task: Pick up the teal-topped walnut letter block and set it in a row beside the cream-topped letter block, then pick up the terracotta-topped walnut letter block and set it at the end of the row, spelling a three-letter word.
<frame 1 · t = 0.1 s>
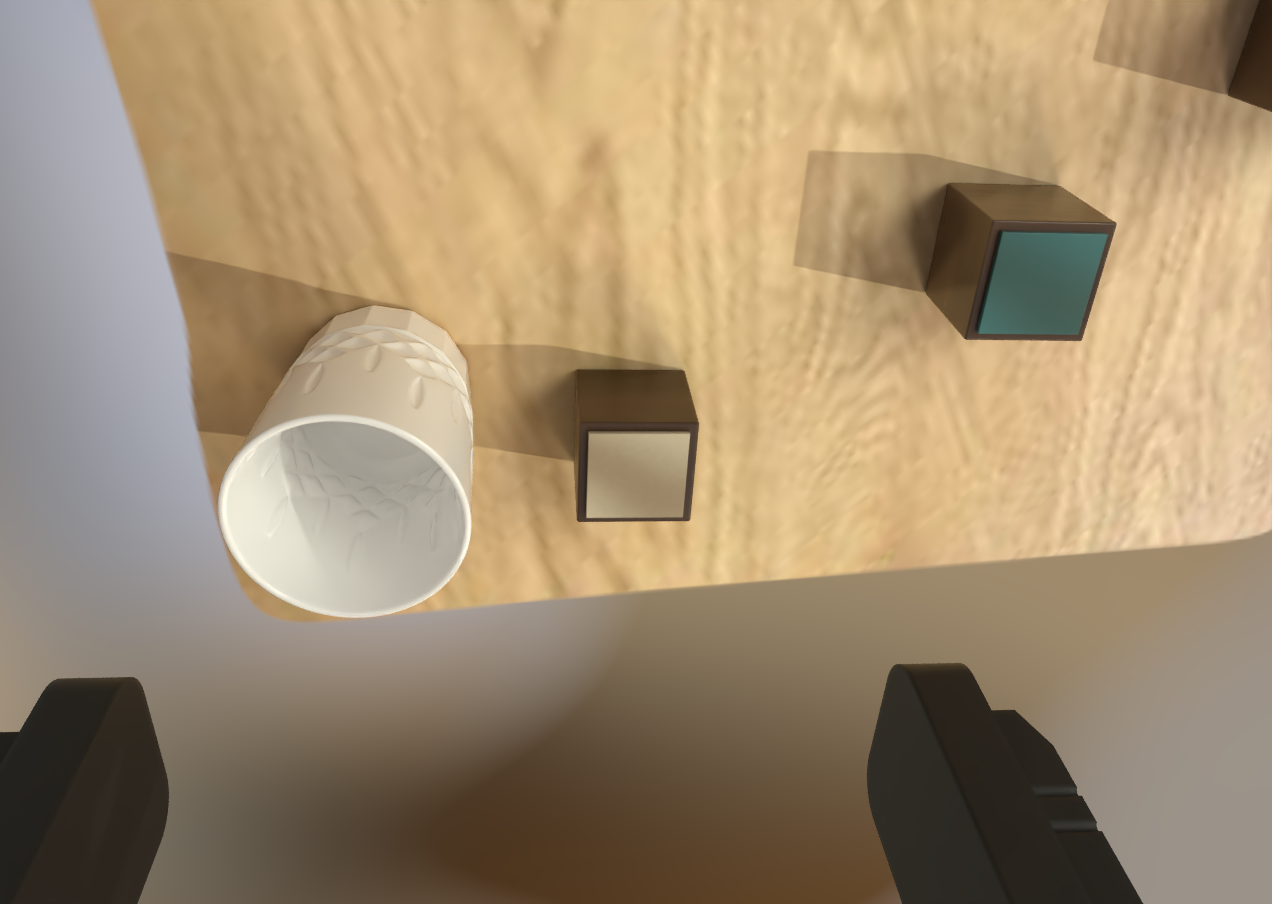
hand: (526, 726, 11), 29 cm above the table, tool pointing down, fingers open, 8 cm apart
letter middle: (991, 240, 40), on the table
white cup: (387, 379, 41), on the table
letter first: (628, 417, 43), on the table
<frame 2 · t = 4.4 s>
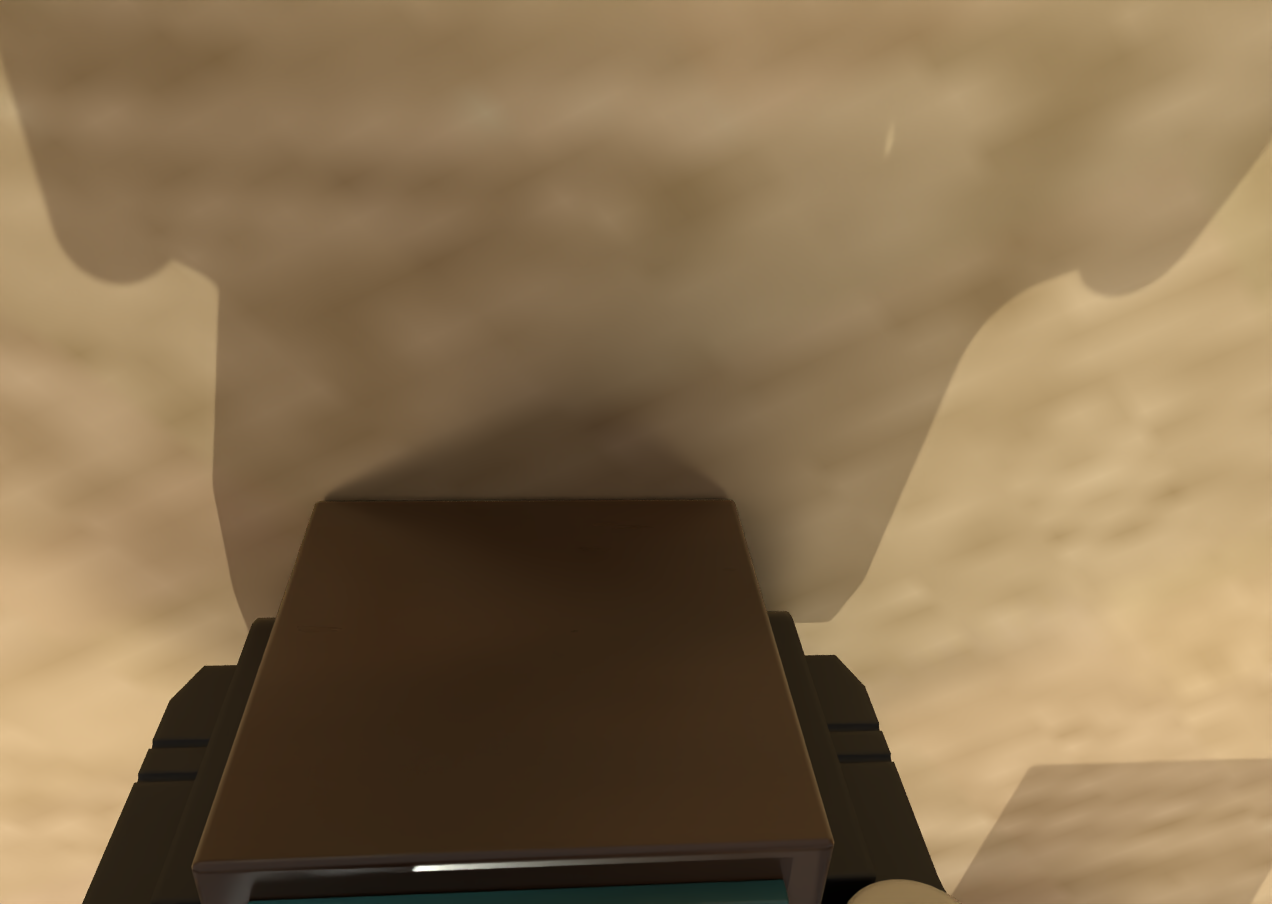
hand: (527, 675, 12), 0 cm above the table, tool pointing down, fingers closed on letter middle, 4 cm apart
letter middle: (529, 655, 12), on the table, touching gripper
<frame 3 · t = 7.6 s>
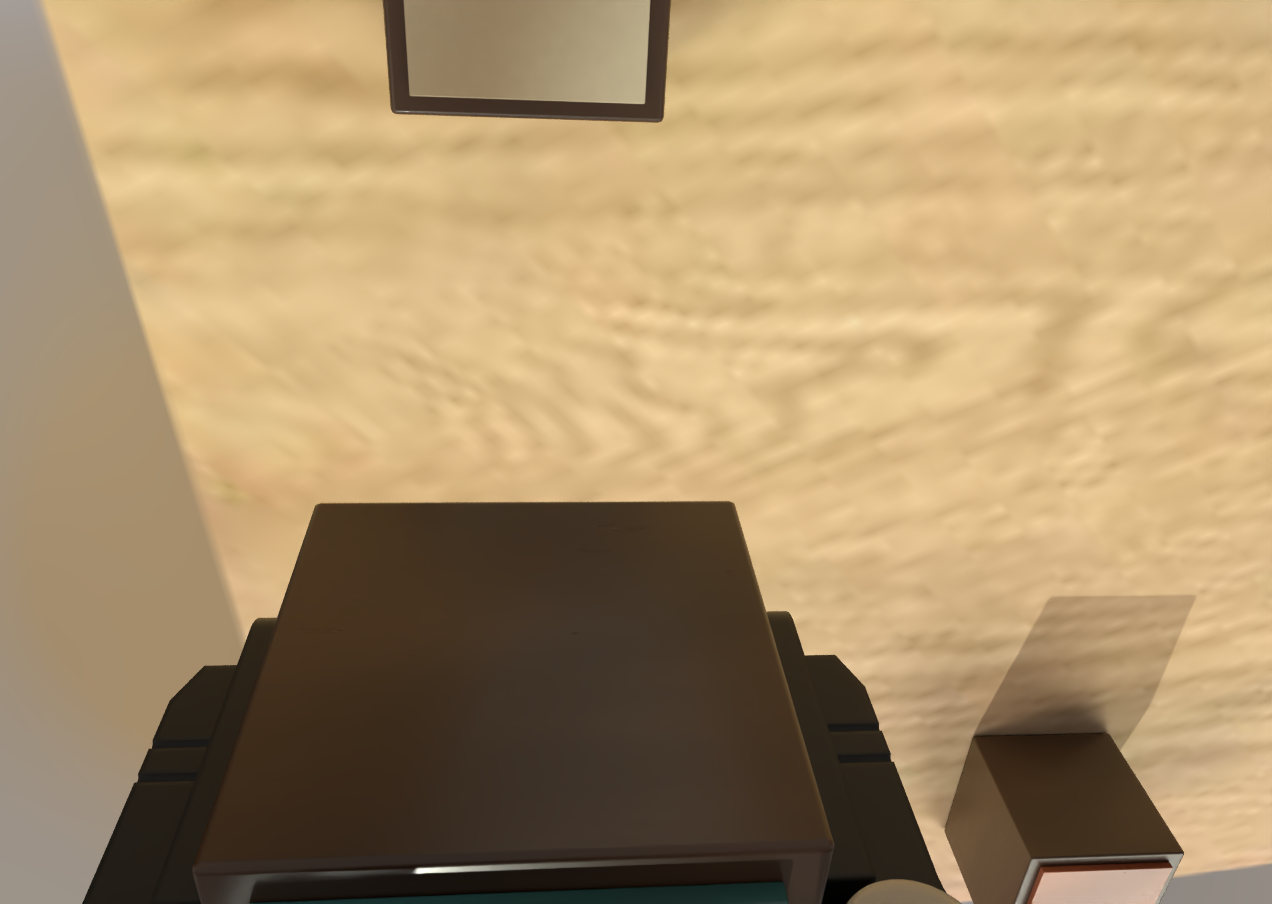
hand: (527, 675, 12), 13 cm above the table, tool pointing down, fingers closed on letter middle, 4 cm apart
letter middle: (529, 656, 12), point 13 cm above the table, touching gripper
letter end: (1024, 783, 33), on the table
when the fingers open (0 cm above the table, at t = 10.7 s): letter middle stays where it is, on the table.
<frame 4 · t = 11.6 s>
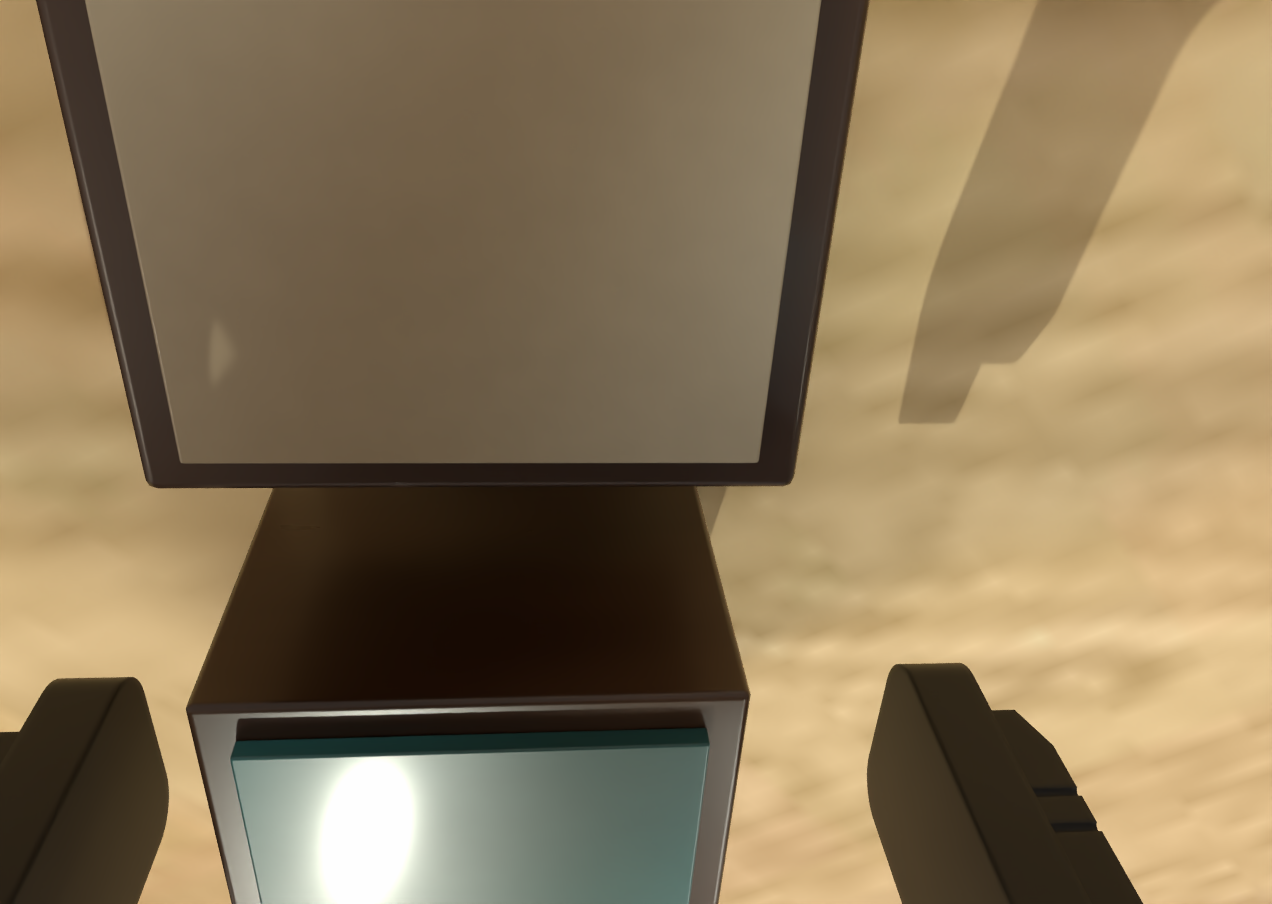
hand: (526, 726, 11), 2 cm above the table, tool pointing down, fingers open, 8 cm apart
letter middle: (495, 576, 13), on the table
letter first: (493, 41, 10), on the table
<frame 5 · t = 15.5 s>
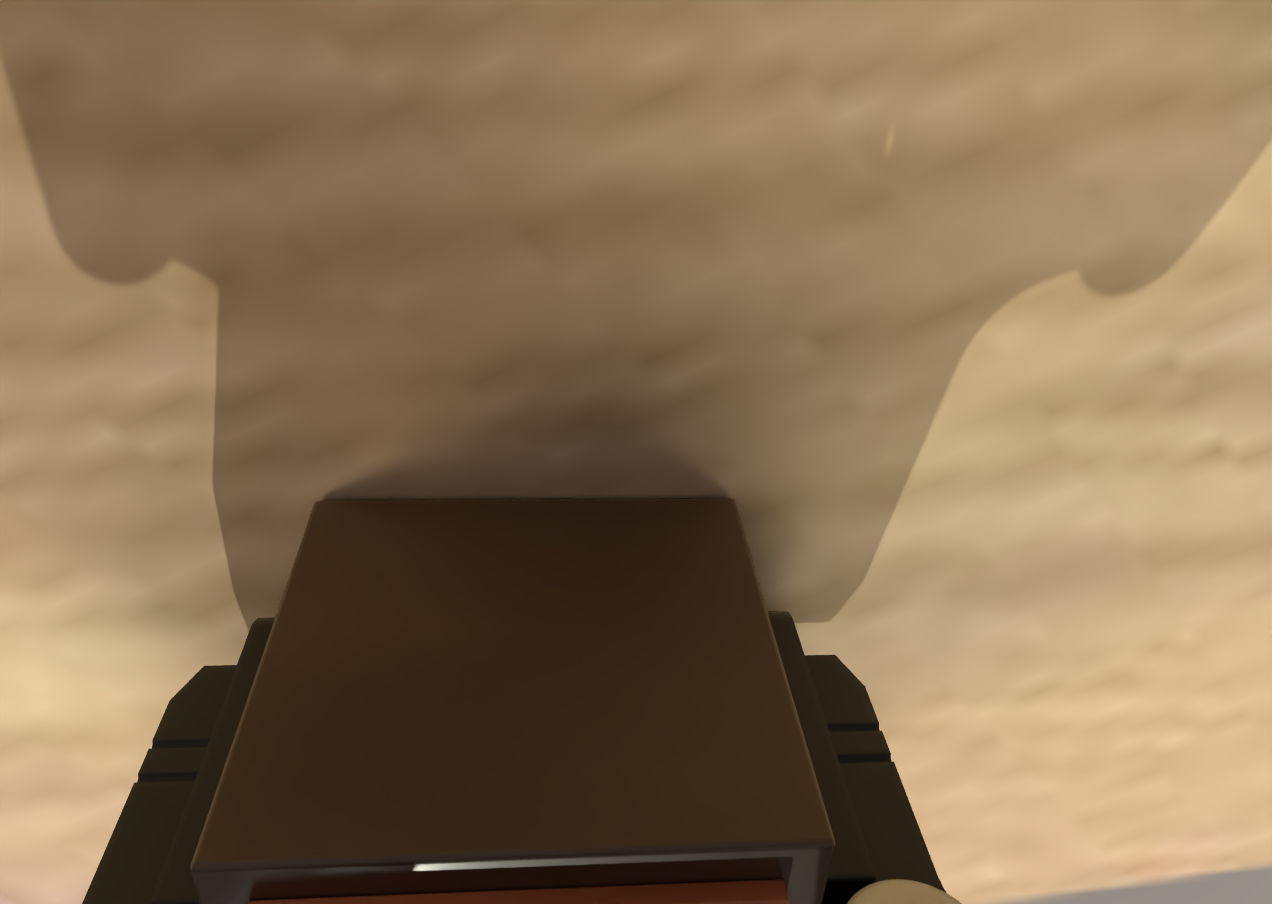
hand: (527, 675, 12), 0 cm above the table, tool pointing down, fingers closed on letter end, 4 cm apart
letter end: (529, 655, 12), on the table, touching gripper
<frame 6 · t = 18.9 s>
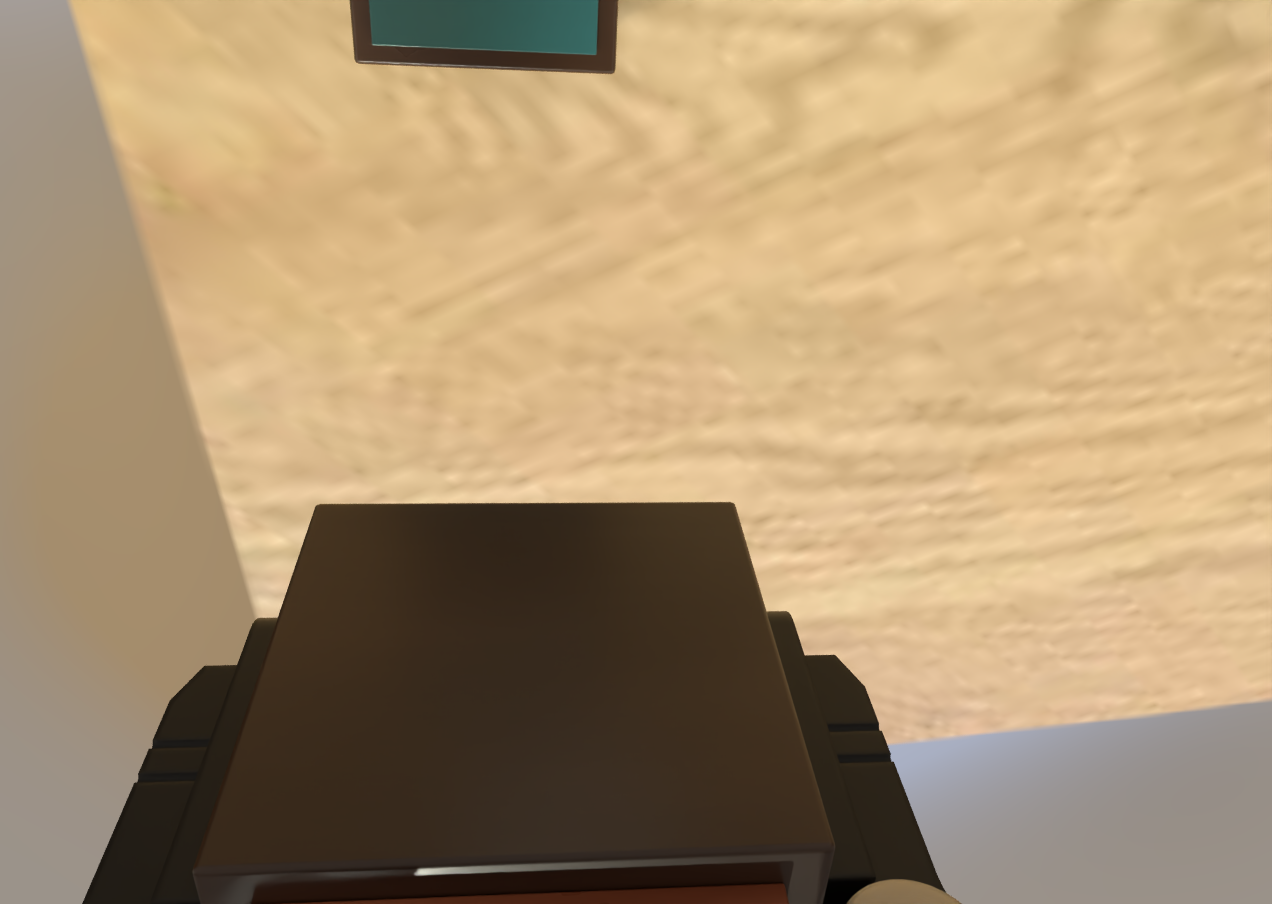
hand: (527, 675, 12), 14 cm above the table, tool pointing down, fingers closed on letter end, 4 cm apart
letter end: (530, 658, 12), point 14 cm above the table, touching gripper
when the fingers open (0 cm above the table, at t = 22.3 s): letter end stays where it is, on the table.
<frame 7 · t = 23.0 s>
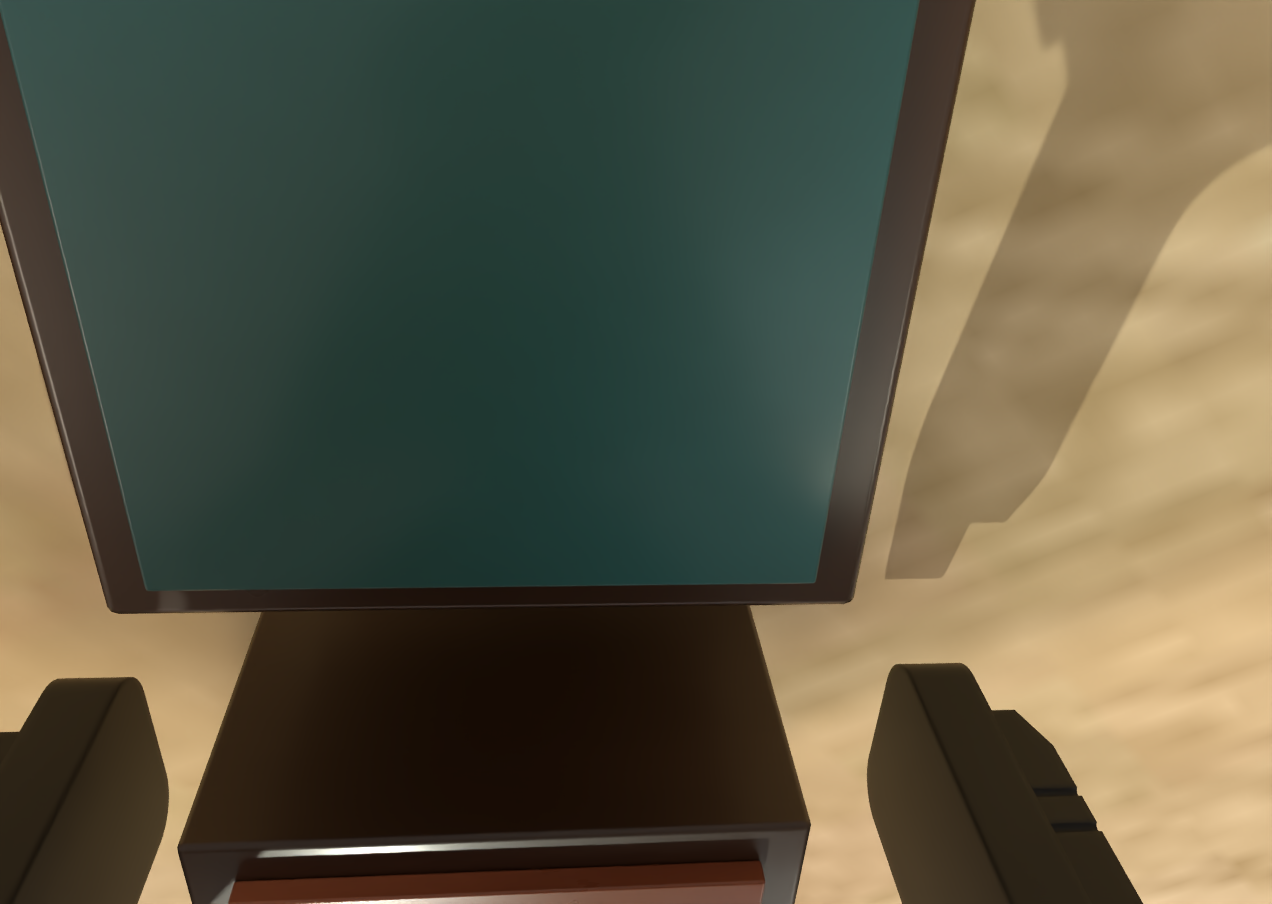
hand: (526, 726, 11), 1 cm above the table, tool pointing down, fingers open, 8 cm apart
letter middle: (507, 77, 9), on the table
letter end: (517, 647, 12), on the table
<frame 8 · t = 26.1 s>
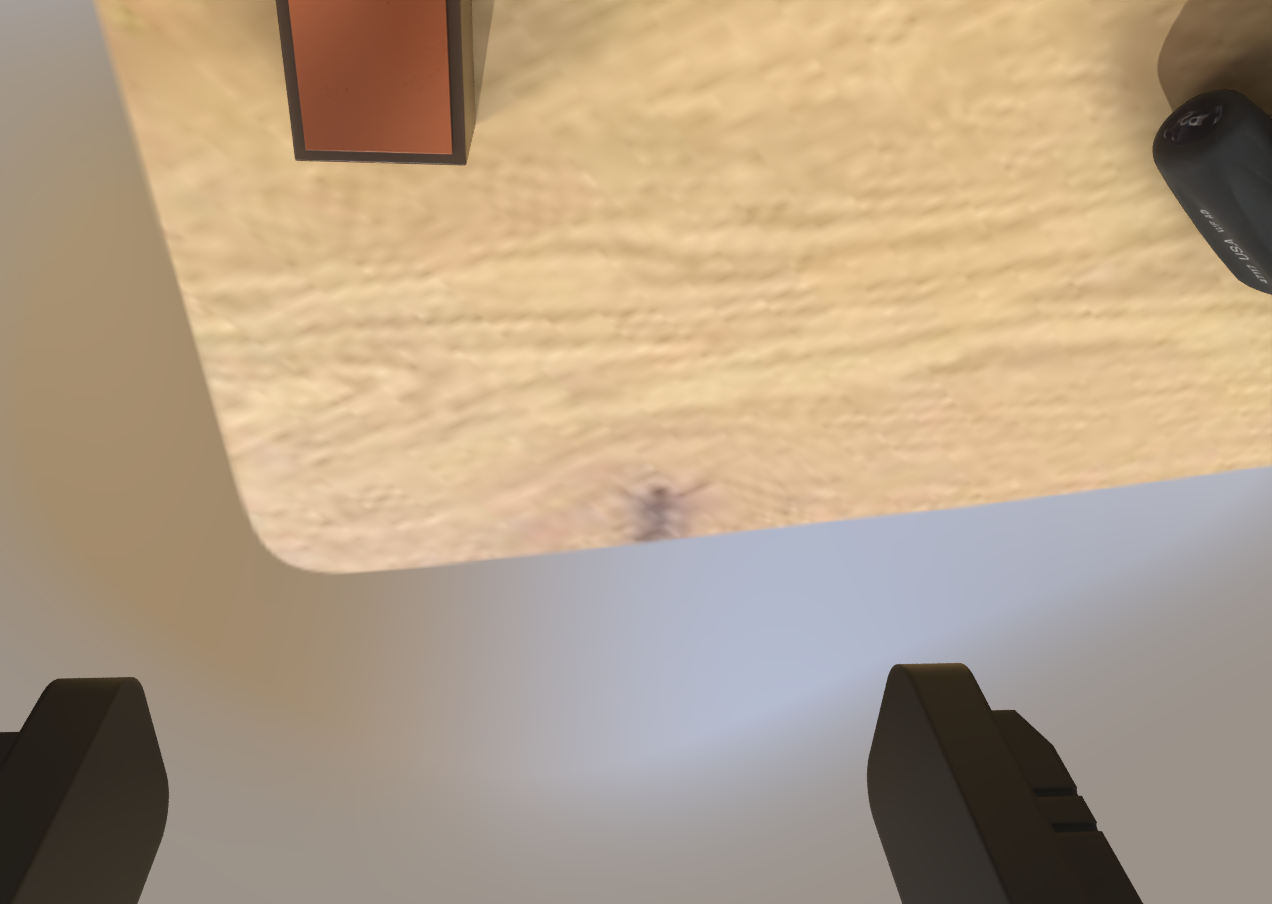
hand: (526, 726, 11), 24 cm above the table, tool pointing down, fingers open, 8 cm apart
letter end: (395, 45, 30), on the table
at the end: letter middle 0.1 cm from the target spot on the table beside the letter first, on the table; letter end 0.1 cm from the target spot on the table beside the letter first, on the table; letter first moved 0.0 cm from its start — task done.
